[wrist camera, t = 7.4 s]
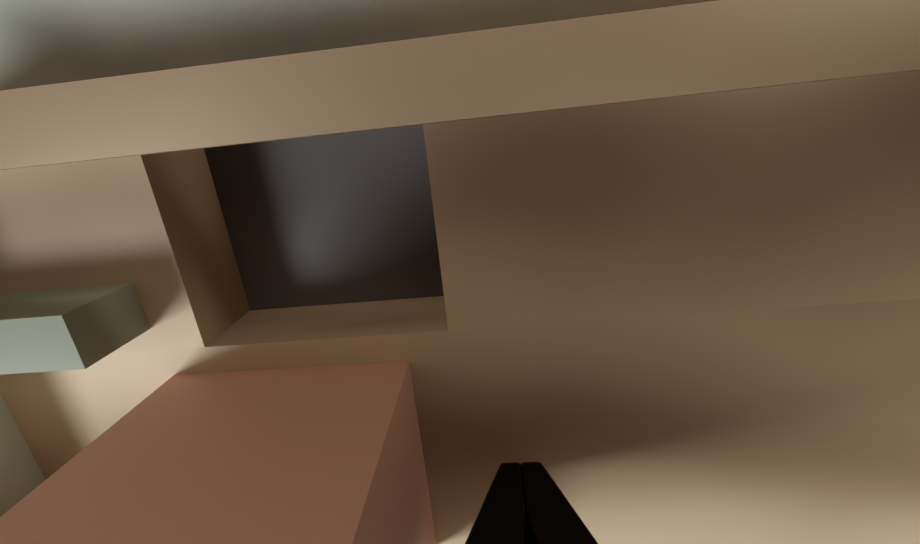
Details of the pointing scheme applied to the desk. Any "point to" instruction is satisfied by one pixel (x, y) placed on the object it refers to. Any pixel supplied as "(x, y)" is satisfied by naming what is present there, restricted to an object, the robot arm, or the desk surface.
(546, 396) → the board
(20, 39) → the desk surface
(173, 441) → the block
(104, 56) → the desk surface
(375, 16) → the desk surface
